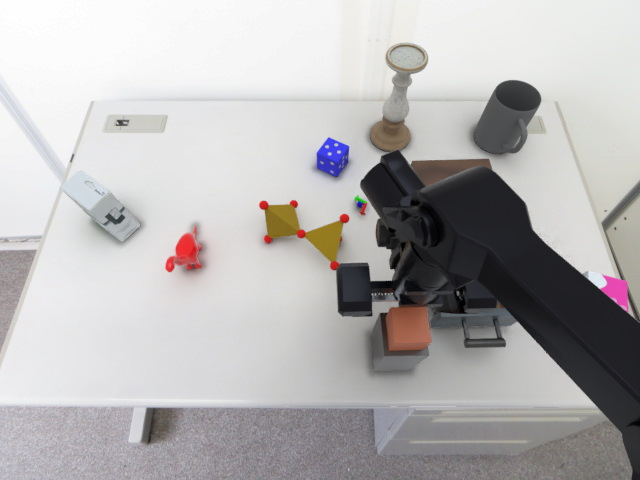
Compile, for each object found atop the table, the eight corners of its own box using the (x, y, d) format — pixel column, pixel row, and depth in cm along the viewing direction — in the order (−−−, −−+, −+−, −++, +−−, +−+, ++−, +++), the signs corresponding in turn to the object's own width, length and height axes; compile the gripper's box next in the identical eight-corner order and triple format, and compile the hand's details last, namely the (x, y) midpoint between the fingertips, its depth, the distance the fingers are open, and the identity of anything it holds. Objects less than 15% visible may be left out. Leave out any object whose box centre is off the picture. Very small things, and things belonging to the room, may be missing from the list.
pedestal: (410, 370, 61) (429, 355, 50) (373, 371, 61) (384, 356, 50) (405, 333, 64) (422, 311, 53) (370, 334, 64) (379, 312, 53)
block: (423, 349, 50) (432, 342, 46) (388, 350, 50) (394, 343, 46) (418, 316, 52) (426, 306, 48) (385, 317, 52) (390, 306, 48)
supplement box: (545, 324, 64) (586, 303, 54) (547, 293, 67) (587, 267, 57) (581, 335, 63) (630, 315, 53) (581, 303, 66) (628, 278, 56)
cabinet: (497, 271, 69) (517, 251, 62) (417, 273, 69) (428, 254, 62) (474, 184, 78) (489, 158, 71) (403, 186, 78) (411, 160, 71)
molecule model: (285, 178, 78) (276, 152, 66) (368, 204, 76) (375, 182, 64) (257, 251, 75) (243, 237, 63) (343, 280, 73) (345, 271, 61)
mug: (468, 124, 86) (488, 80, 75) (508, 122, 86) (533, 78, 75) (483, 172, 79) (507, 131, 69) (526, 170, 80) (557, 128, 69)
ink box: (93, 221, 75) (56, 186, 64) (113, 204, 77) (79, 167, 66) (122, 243, 72) (88, 211, 62) (142, 225, 74) (112, 190, 64)
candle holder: (403, 156, 82) (425, 77, 64) (365, 145, 83) (376, 65, 65) (413, 128, 85) (437, 46, 68) (376, 118, 87) (390, 35, 69)
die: (348, 161, 81) (349, 145, 77) (337, 177, 79) (337, 162, 75) (328, 152, 82) (328, 136, 78) (316, 168, 80) (316, 152, 76)
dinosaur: (205, 224, 74) (185, 187, 63) (204, 296, 67) (181, 268, 56) (185, 227, 74) (161, 190, 63) (182, 299, 67) (154, 272, 56)
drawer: (517, 351, 61) (536, 343, 56) (435, 353, 61) (446, 345, 56) (485, 229, 72) (499, 212, 66) (415, 231, 72) (423, 214, 66)
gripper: (499, 195, 43) (457, 255, 56) (335, 199, 43) (333, 258, 57) (527, 287, 37) (473, 329, 51) (340, 292, 38) (336, 332, 51)
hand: (402, 309), depth 53 cm, fingers open, 9 cm apart
